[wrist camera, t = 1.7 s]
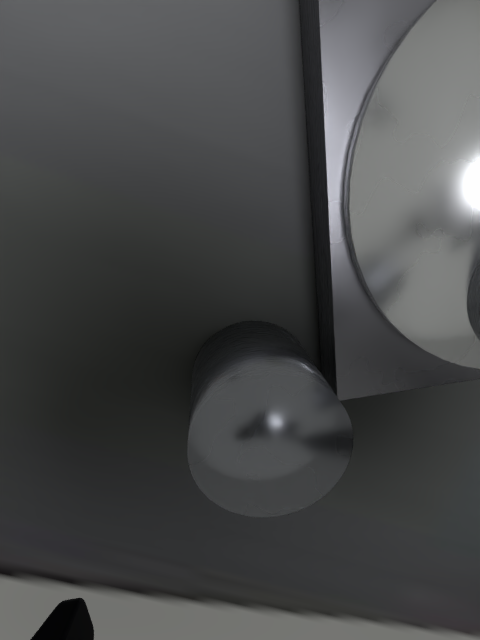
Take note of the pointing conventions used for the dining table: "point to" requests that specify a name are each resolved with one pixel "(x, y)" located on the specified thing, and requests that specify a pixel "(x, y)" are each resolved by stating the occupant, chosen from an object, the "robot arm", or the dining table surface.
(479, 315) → the cylinder
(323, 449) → the steel spacer
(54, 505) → the dining table surface
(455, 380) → the dial scale
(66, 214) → the dining table surface
